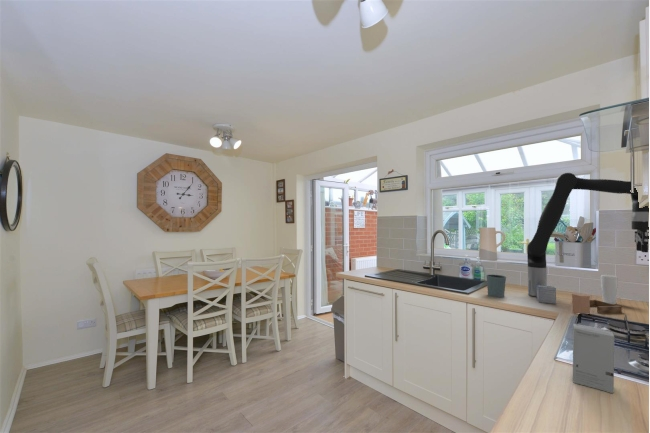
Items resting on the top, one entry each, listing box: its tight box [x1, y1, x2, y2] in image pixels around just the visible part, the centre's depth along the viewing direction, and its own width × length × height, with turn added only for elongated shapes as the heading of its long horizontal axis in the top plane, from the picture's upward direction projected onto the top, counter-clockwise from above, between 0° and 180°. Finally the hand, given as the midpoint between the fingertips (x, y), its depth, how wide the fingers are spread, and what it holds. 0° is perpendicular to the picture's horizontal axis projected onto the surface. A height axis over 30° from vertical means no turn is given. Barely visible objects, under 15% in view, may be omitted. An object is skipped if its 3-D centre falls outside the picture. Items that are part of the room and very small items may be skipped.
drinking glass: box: [600, 274, 619, 305], centre depth 160 cm, size 7×7×15 cm
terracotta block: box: [571, 293, 591, 315], centre depth 141 cm, size 4×4×9 cm
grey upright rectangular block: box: [572, 323, 615, 394], centre depth 79 cm, size 8×6×15 cm
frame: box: [590, 299, 623, 314], centre depth 148 cm, size 12×13×3 cm
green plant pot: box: [486, 274, 507, 298], centre depth 176 cm, size 10×10×12 cm
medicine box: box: [536, 285, 557, 305], centre depth 162 cm, size 8×4×9 cm, turn 65°
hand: (642, 251), depth 153 cm, fingers open, 8 cm apart
